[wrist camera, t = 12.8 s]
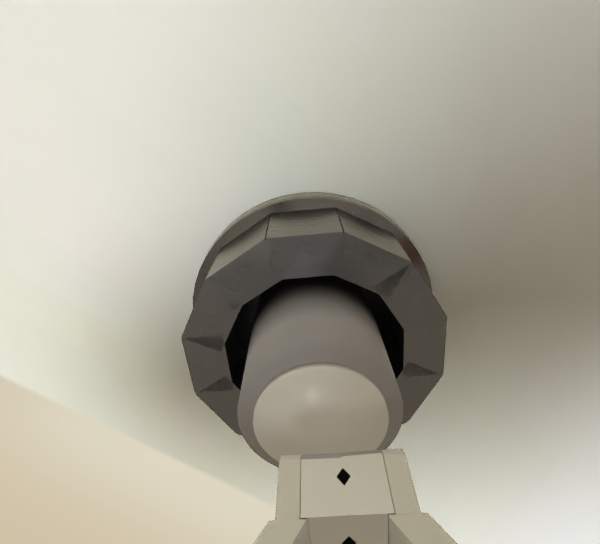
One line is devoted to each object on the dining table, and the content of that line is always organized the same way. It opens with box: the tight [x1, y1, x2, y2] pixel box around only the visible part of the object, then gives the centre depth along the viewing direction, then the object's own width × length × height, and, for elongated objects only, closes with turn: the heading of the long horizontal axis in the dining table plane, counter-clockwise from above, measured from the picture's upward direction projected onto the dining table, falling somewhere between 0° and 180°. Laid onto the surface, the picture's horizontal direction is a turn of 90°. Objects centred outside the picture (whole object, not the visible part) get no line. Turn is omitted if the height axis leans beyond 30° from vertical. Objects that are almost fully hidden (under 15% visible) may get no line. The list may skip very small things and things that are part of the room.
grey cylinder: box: [237, 275, 404, 467], centre depth 15 cm, size 5×5×6 cm
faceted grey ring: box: [182, 192, 447, 436], centre depth 17 cm, size 10×10×4 cm
